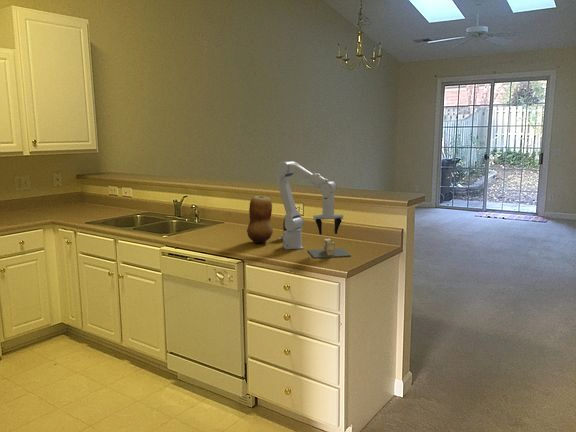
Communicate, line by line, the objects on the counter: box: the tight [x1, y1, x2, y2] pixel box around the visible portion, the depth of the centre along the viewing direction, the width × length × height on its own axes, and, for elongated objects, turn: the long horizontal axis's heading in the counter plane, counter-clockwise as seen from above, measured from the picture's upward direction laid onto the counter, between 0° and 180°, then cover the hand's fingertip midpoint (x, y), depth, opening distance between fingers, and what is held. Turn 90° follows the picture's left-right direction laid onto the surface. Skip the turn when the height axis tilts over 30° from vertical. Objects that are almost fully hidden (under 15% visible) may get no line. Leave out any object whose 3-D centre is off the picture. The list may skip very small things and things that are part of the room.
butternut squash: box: [246, 195, 274, 244], centre depth 261 cm, size 14×13×25 cm
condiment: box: [278, 218, 287, 240], centre depth 272 cm, size 7×8×12 cm
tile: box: [323, 238, 336, 255], centre depth 238 cm, size 9×3×6 cm, turn 10°
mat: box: [307, 247, 352, 259], centre depth 239 cm, size 18×14×1 cm
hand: (328, 233), depth 240 cm, fingers open, 7 cm apart
